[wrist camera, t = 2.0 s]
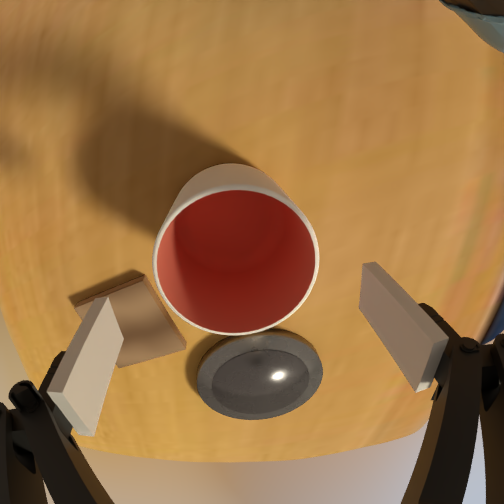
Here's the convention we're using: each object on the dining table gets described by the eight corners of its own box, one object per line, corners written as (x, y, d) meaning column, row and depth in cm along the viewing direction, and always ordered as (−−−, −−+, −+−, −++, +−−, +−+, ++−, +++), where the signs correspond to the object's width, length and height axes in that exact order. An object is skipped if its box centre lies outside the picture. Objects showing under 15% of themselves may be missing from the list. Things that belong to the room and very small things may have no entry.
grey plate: (185, 337, 32) (183, 347, 30) (322, 318, 33) (326, 328, 31) (209, 416, 38) (209, 425, 36) (316, 401, 39) (319, 410, 37)
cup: (270, 276, 30) (292, 343, 21) (166, 258, 28) (146, 323, 19) (299, 175, 26) (341, 206, 17) (184, 151, 24) (164, 168, 15)
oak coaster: (77, 302, 29) (74, 308, 28) (145, 274, 28) (142, 280, 27) (121, 361, 33) (119, 368, 31) (186, 341, 32) (185, 349, 31)
